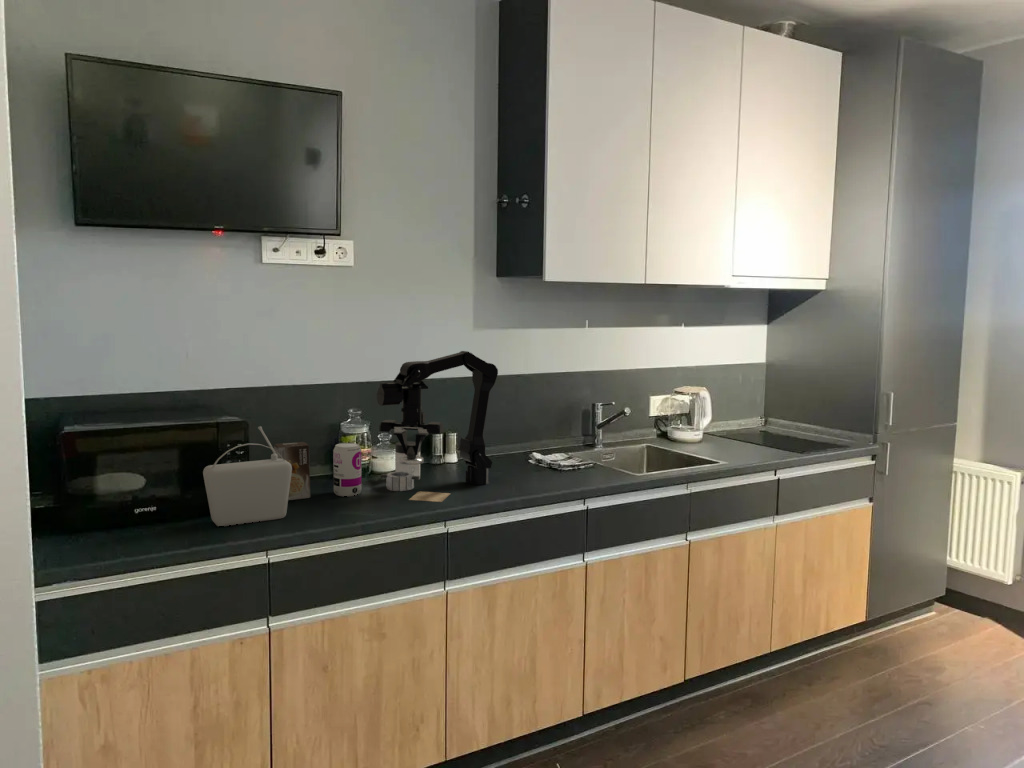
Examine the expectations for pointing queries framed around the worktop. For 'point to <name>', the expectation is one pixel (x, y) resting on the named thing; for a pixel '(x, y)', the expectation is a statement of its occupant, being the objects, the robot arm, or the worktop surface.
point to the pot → (400, 480)
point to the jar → (404, 467)
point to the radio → (248, 489)
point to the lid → (411, 456)
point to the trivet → (430, 496)
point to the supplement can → (347, 469)
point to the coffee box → (296, 467)
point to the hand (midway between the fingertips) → (411, 454)
